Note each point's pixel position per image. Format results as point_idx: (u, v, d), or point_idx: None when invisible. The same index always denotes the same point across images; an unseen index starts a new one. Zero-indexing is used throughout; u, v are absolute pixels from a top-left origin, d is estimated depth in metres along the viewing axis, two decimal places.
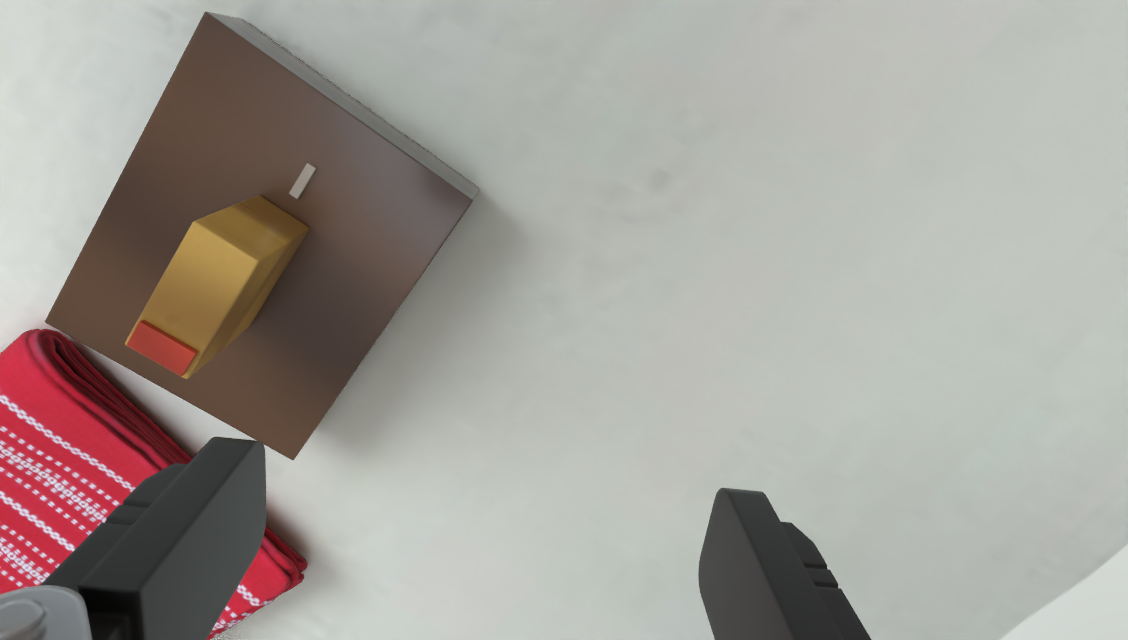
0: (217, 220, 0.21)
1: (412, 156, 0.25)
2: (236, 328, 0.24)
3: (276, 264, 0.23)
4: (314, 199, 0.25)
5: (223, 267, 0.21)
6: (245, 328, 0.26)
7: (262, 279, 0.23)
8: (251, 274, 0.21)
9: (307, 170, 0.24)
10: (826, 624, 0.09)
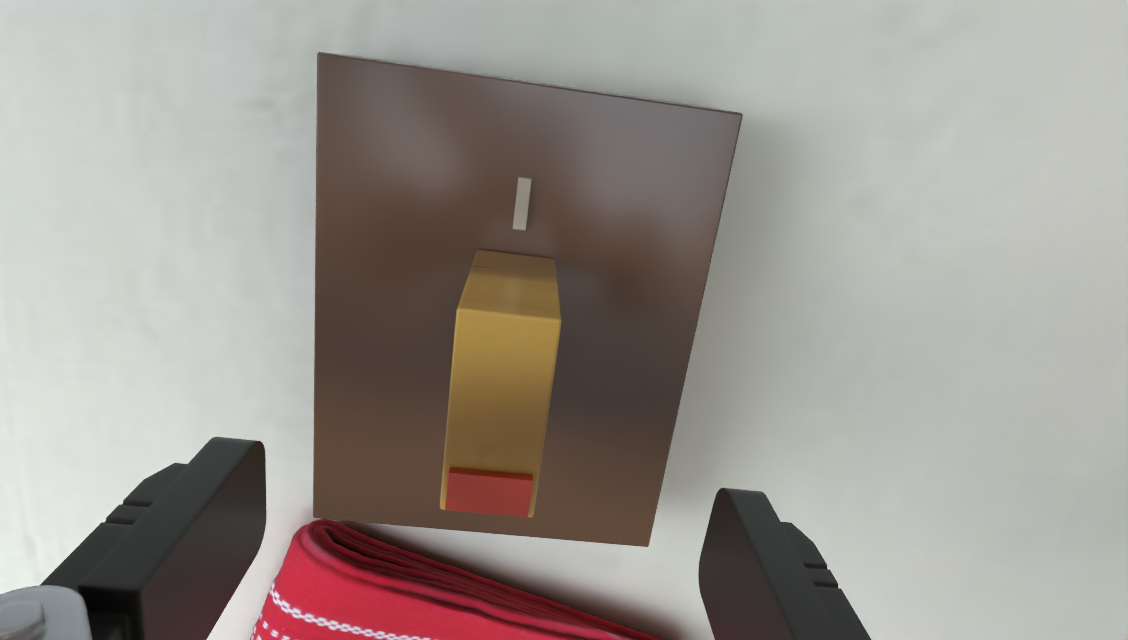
0: (476, 295, 0.15)
1: (640, 98, 0.17)
2: None
3: None
4: (544, 220, 0.18)
5: (521, 350, 0.14)
6: None
7: None
8: (558, 342, 0.14)
9: (522, 187, 0.18)
10: (826, 624, 0.09)
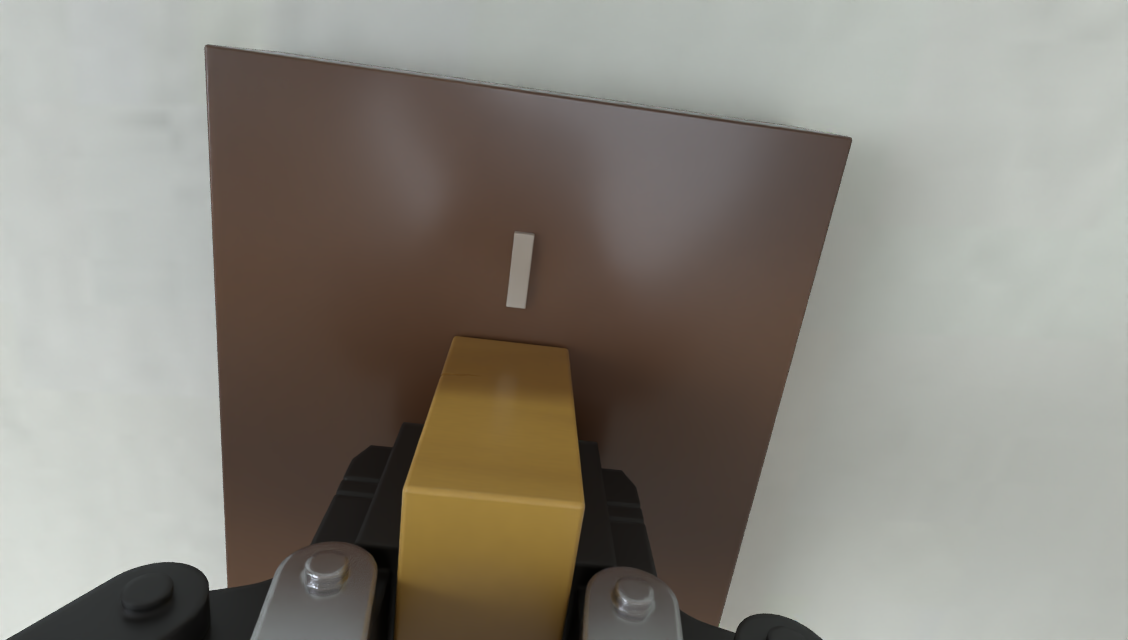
0: (441, 447, 0.09)
1: (698, 114, 0.12)
2: None
3: None
4: (553, 293, 0.12)
5: (515, 552, 0.08)
6: None
7: None
8: (578, 537, 0.08)
9: (521, 247, 0.12)
10: (604, 547, 0.09)
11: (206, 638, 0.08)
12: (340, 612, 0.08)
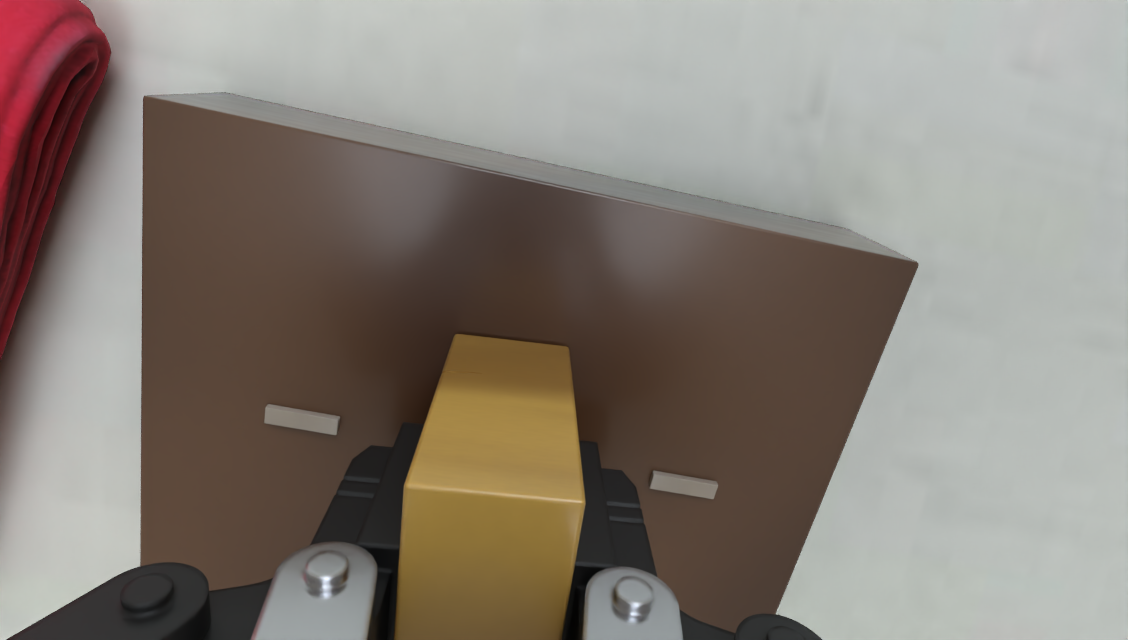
0: (442, 444, 0.09)
1: (776, 599, 0.15)
2: None
3: None
4: (656, 506, 0.14)
5: (515, 549, 0.08)
6: None
7: None
8: (579, 533, 0.08)
9: (706, 490, 0.14)
10: (604, 547, 0.09)
11: (206, 638, 0.08)
12: (340, 612, 0.08)
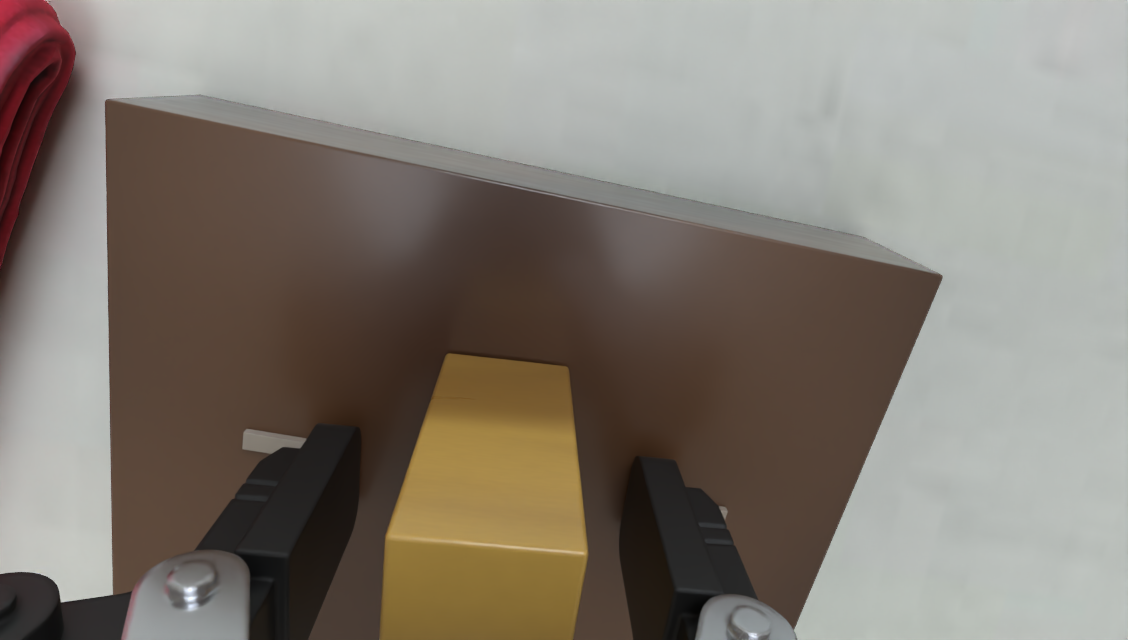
0: (429, 485, 0.08)
1: None
2: None
3: None
4: None
5: (509, 604, 0.07)
6: None
7: None
8: (581, 587, 0.07)
9: None
10: (707, 573, 0.09)
11: None
12: (197, 625, 0.07)
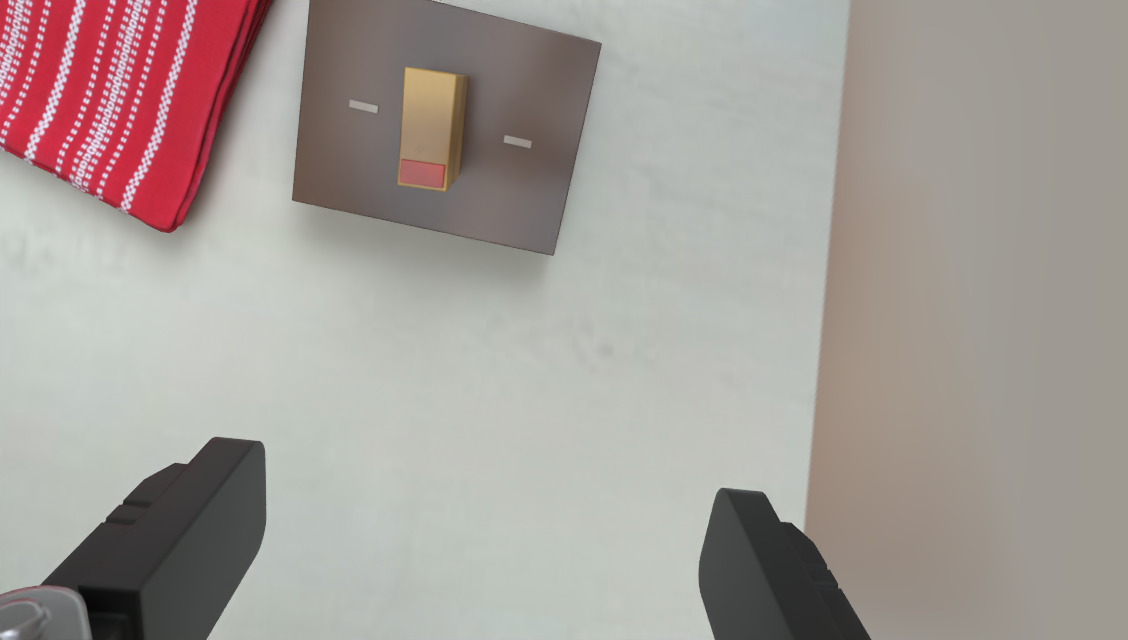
0: (416, 68, 0.29)
1: (564, 206, 0.35)
2: (455, 163, 0.32)
3: (461, 98, 0.31)
4: (507, 153, 0.34)
5: (436, 91, 0.28)
6: (458, 174, 0.34)
7: (459, 108, 0.30)
8: (455, 88, 0.28)
9: (526, 143, 0.34)
10: (826, 624, 0.09)
11: None
12: None
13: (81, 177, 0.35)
